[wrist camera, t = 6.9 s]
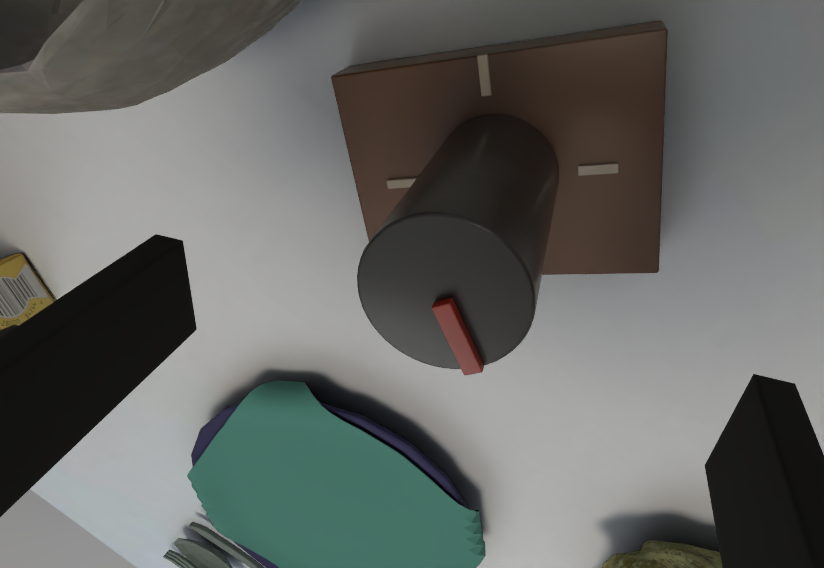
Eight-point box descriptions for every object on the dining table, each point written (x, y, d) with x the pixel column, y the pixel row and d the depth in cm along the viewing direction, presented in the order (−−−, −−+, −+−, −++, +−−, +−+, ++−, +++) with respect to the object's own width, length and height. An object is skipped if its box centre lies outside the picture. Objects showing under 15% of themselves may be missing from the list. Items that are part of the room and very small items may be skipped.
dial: (416, 140, 23) (321, 248, 15) (534, 94, 20) (492, 192, 13) (462, 245, 24) (398, 389, 17) (575, 212, 22) (560, 360, 15)
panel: (662, 20, 20) (668, 28, 18) (655, 250, 24) (659, 275, 22) (348, 65, 24) (328, 77, 22) (389, 257, 28) (375, 279, 26)
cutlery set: (549, 517, 35) (546, 551, 33) (321, 648, 51) (311, 675, 50) (279, 321, 32) (259, 345, 31) (134, 524, 49) (115, 548, 47)
